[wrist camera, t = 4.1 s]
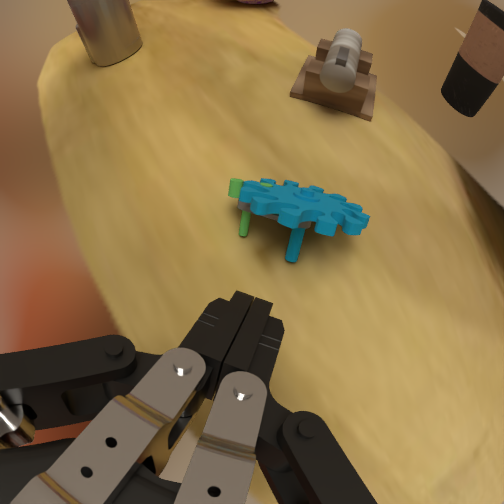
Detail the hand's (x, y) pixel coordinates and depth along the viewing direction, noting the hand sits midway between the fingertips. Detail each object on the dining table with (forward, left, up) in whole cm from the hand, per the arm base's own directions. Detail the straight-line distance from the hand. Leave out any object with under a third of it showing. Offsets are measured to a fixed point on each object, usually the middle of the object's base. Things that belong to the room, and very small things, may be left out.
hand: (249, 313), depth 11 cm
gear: (0, +10, -11) cm, 15 cm away
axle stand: (0, +30, -11) cm, 32 cm away
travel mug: (+20, +41, -11) cm, 47 cm away
